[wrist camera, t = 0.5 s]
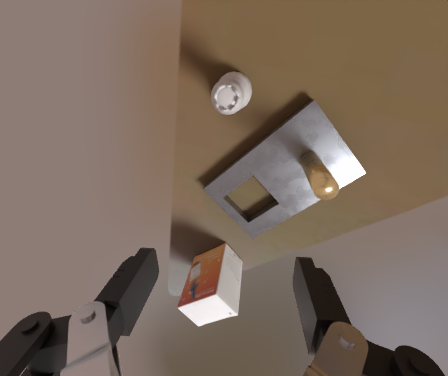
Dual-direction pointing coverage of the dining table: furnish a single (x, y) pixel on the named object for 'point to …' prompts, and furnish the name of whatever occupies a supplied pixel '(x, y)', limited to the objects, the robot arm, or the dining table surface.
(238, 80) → the rook chess piece
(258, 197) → the dining table surface
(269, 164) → the bolt plate
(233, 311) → the small box
